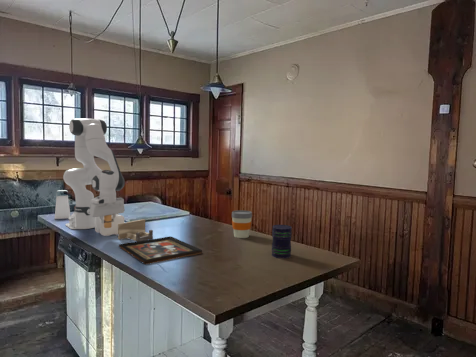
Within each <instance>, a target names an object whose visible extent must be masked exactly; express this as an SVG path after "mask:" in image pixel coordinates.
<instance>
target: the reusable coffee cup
mask: <svg viewBox="0 0 476 357" xmlns="http://www.w3.org/2000/svg"><path fill="white" fill-rule="evenodd" d="M252 217H253V212H252V211H250V210H245V209H244V210H241V209H240V210H239V209H238V210H232V212H231V218H232V220H231V225H232V229H233V236H234V238H237V239H246V238H249V236H250V230H251V229H252V228H251V227H252Z"/></svg>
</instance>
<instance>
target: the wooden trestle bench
mask: <svg viewBox="0 0 476 357" xmlns="http://www.w3.org/2000/svg"><path fill="white" fill-rule="evenodd" d="M153 233H154V230H153V229H149V230H148V232H146V219H143V218H142V219H138V220H133V221H126V222H124V223H120V224H118V235H117V239H118V240H124V239H127V240H132V241H133V242H138V241H145V240H148V239H149V240H151V239H154V238H153V237H154V234H153Z"/></svg>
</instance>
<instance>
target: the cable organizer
mask: <svg viewBox="0 0 476 357" xmlns="http://www.w3.org/2000/svg"><path fill="white" fill-rule="evenodd" d="M103 219H104V218H103ZM120 223H125V217H124V216H123V215H120V213H119V214H116V217H115V218H114V222H112V226H111V228H104V223H103V224H102V223H101V219H100V218H99V217H95V227H94V231H95V232H96V233H98V234H100V235H101V236H105V237H107V236H111V235H116V236H118V224H120Z"/></svg>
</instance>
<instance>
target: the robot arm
mask: <svg viewBox="0 0 476 357" xmlns="http://www.w3.org/2000/svg"><path fill="white" fill-rule="evenodd" d="M107 125H108V124H107V122H106V121H105V120H102V119H96V118H89V117H88V118H72V119H71V120H70V122H69V124H68V127H69V128H68V129H69V132H70V133H71V134H72V135H73V136H75V138H74V157H75V160H76V161H77V162H79V163H81V164H82V166H83V167H78V168H74V167H73V168H70V169H67V170H65V171H64V172H63V181H64V183H65V184H66V185H67V186H69V187H70V188H71V189H72V190H73V193H74V197H75V206H74V211H73V213H71V214H70V215H71V216H70V218H68V222H67V223H65V226H66V227H67V228H69V229H71V230H88V229H93V228H94V229H95V217H99V218H100V219H101V223H102V224H103V223H105V220H104V219H103V218H104V216H106V215H112V222H114V218H115V217H116V214H119V215H120V214H124V212H125V199H124V198H123V197H117V192H120V191H121V190H123V188H124V187H125V182H126V181H125V178H124V176H123V174H122V172H121V170H120V167H119V163H118V161H117V158H116V155H115V153H114V151H113V150H112V149H111V148H110V147H109V146H108V144H107V141H106V137H105V135H106V134H107V130H108V126H107ZM95 157H97V158H99V159H102V160H104V161H105V162H107V164H108V166H109V168H110V170H109V169H104V170H103V169H101V168H100V167H99V166H98V165H97V163H96V161H95ZM87 185H91V188H92V189H93V190H94V191H96V192H99V195H97V196H96V197H95V195H94V193H93V192H92V191H91V190H89V189H87V188H86V186H87ZM116 191H117V192H116Z"/></svg>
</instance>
